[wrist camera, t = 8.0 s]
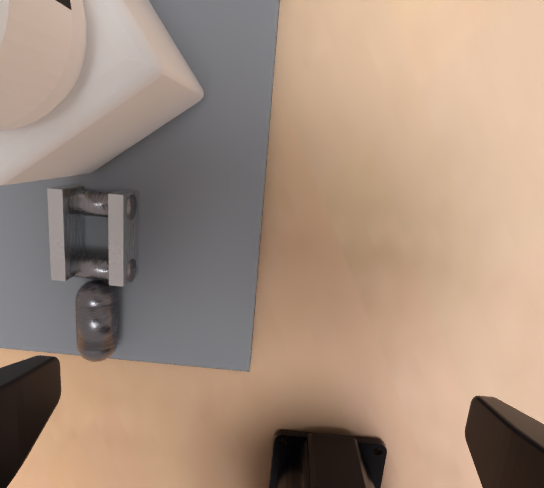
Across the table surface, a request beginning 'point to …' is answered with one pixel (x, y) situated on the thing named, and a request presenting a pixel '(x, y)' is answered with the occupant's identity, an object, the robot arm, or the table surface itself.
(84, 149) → the medicine bottle
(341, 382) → the table surface
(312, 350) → the table surface
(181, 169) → the rubber mat
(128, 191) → the chain ends
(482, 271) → the table surface
